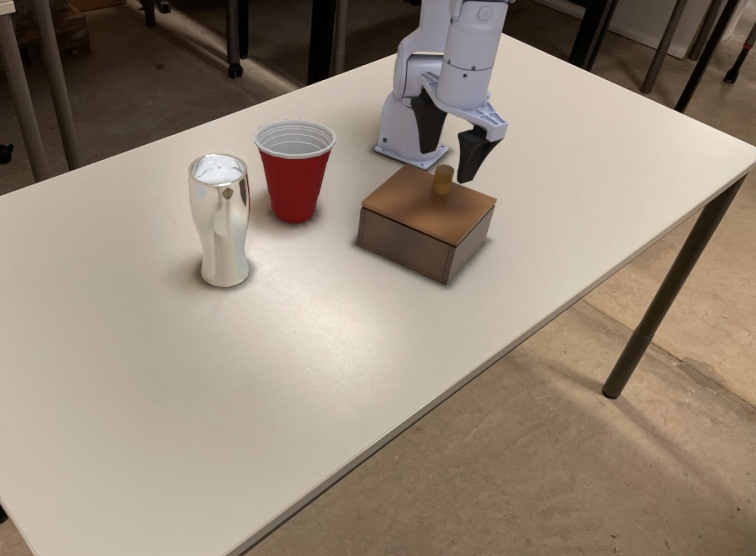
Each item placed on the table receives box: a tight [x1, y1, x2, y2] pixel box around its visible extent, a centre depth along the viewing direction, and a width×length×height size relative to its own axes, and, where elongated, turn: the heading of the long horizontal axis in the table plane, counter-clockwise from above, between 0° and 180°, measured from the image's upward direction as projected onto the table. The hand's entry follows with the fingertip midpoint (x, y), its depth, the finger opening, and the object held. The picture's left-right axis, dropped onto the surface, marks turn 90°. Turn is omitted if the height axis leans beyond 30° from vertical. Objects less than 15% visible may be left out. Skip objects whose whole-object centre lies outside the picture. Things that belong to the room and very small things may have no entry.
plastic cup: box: [253, 119, 337, 224], centre depth 89 cm, size 11×11×12 cm
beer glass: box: [187, 152, 251, 288], centre depth 79 cm, size 7×7×15 cm
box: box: [356, 204, 496, 286], centre depth 88 cm, size 14×12×6 cm
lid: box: [360, 163, 498, 246], centre depth 84 cm, size 14×12×4 cm
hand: (445, 165), depth 84 cm, fingers open, 7 cm apart
